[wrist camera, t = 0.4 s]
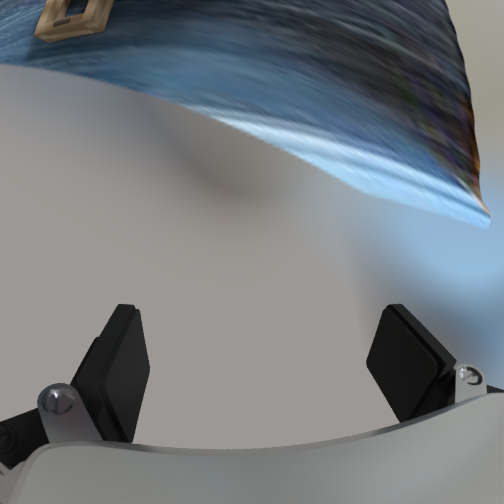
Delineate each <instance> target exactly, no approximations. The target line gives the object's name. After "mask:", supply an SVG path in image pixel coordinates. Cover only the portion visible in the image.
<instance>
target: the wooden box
mask: <svg viewBox="0 0 504 504" xmlns="http://www.w3.org/2000/svg"><path fill="white" fill-rule="evenodd" d="M70 2H71V0H47V2H46V4H45V7H44V9H43V12H42V14H41V17H40V19H39V22H38V25H37V28H36V30H35V33H34V36H36V37H38V38H40V39H42V40H44V41H46V42H48V43H52V42H56V41H60V40H64V39H68V38H72V37H77V36H81V35H87V34H92V33H98V32H104V29H105V26H106V23H107V19H108V16H109V13H110V11H111V8H112V5H113V2H114V0H89V2H88V5H87V7H86V10H85V13H82V14H77V15H73V16H69V17H66V18H65V15H66V12H67V10H68V7H69V5H70Z"/></svg>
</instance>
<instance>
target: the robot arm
mask: <svg viewBox="0 0 504 504" xmlns="http://www.w3.org/2000/svg"><path fill="white" fill-rule="evenodd" d="M455 363H456V359H455V358H454V357H453V356H452V355H451V354H450V353H449V352H448V351H447V350H446V349H445V347H444V346H442V344H441V343H440V342H439V341H438V340H437V339H436V338H435V337H434V336H433V335H432V334H431V333H430V332H429V331H428V330H427V329H426V328H425V327H424V326H423V325H422V324H421V323H420V322H419V321H418V320H417V319H416V318H415V317H414V316H413V315H412V314H411V313H410V312H409V311H408V310H407V309H406V308H405V307H404V306H403V305H402V304H390V305H388V306H387V307H386V308H385V309H384V310H383V312H382V315H381V319H380V322H379V325H378V328H377V331H376V334H375V337H374V340H373V343H372V346H371V349H370V351H369V355H368V357H367V360H366V365H367V368H368V369H369V371H370V373H371V374H372V376H373V378H374V379H375V381H376V382H377V384H378V386H379V388H380V389H381V391H382V393H383V394H384V396H385V397H386V399H387V401H388V403H389V405H390V406H391V408H392V410H393V412H394V413H395V415H396V417H397V419H398V420H399V422H400V423H399V424H396V425H392V426H389V427H385V428H381V429H378V430H374V431H370V432H366V433H361V434H358V435H353V436H348V437H343V438H338V439H333V440H328V441H321V442H315V443H308V444H301V445H292V446H283V447H272V448H258V449H231V450H230V449H227V450H219V449H217V450H216V449H212V450H211V449H187V448H170V447H158V446H150V445H141V444H131V443H132V442H133V438H134V433H135V430H136V425H137V421H138V417H139V412H140V408H141V404H142V400H143V396H144V392H145V388H146V384H147V380H148V377H149V373H150V365H149V360H148V355H147V350H146V344H145V339H144V333H143V327H142V321H141V315H140V311H139V309H135V306H134V305H128V304H118V306H117V307H116V309H115V311H114V312H113V314H112V316H111V317H110V319H109V321H108V322H107V324H106V326H105V327H104V329H103V331H102V333H101V334H100V336H99V337H96V338H95V339H94V341H93V343H92V345H91V346H90V348H89V350H88V352H87V353H86V355H85V357H84V359H83V361H82V363H81V365H80V366H79V368H78V370H77V372H76V374H75V376H74V377H73V379H72V381H71V383H70V385H68V384H65V383H57V384H52V385H50V386H48V387H46V388H45V389H44V390H43V391H42V392H41V393H40V395H39V396H38V400H37V405H38V408H36V409H33V410H31V411H28V412H26V413H23V414H20V415H17V416H15V417H12V418H9V419H7V420H4V421H1V422H0V504H504V390H502V389H499V388H495V387H492V386H489V385H486V379H485V376H484V374H483V372H482V371H481V370H480V369H478V368H477V367H475V366H473V365H470V364H462V365H460V366H458V367H457V369H456V371H455V370H454V369H453V367H454V365H455Z"/></svg>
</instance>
